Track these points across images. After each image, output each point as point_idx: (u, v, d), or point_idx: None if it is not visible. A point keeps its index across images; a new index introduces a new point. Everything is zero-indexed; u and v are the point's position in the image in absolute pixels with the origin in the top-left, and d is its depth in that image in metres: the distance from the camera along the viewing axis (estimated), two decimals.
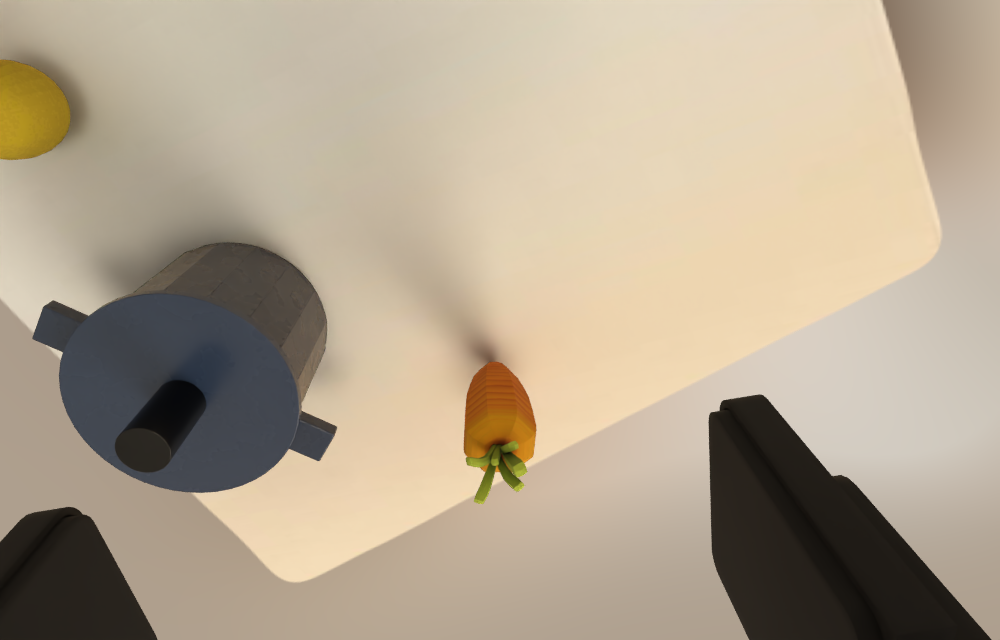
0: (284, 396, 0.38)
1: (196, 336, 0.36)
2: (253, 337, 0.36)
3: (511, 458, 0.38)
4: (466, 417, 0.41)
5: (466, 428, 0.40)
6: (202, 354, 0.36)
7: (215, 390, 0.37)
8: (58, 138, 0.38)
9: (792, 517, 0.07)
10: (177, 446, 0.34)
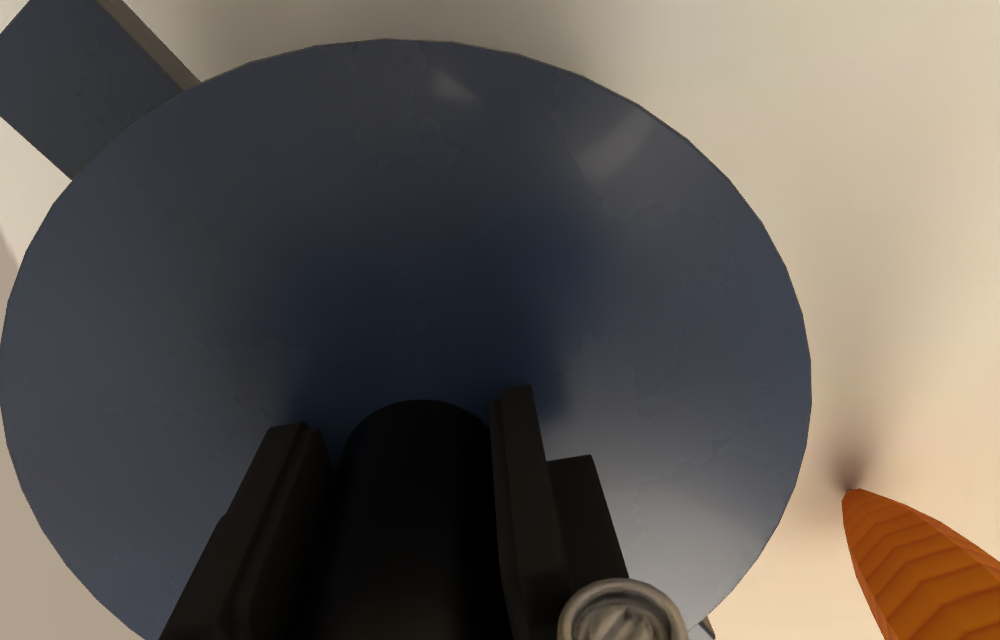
0: (726, 542, 0.12)
1: (605, 282, 0.10)
2: (775, 349, 0.10)
3: None
4: None
5: None
6: (582, 348, 0.10)
7: None
8: None
9: (500, 485, 0.08)
10: None
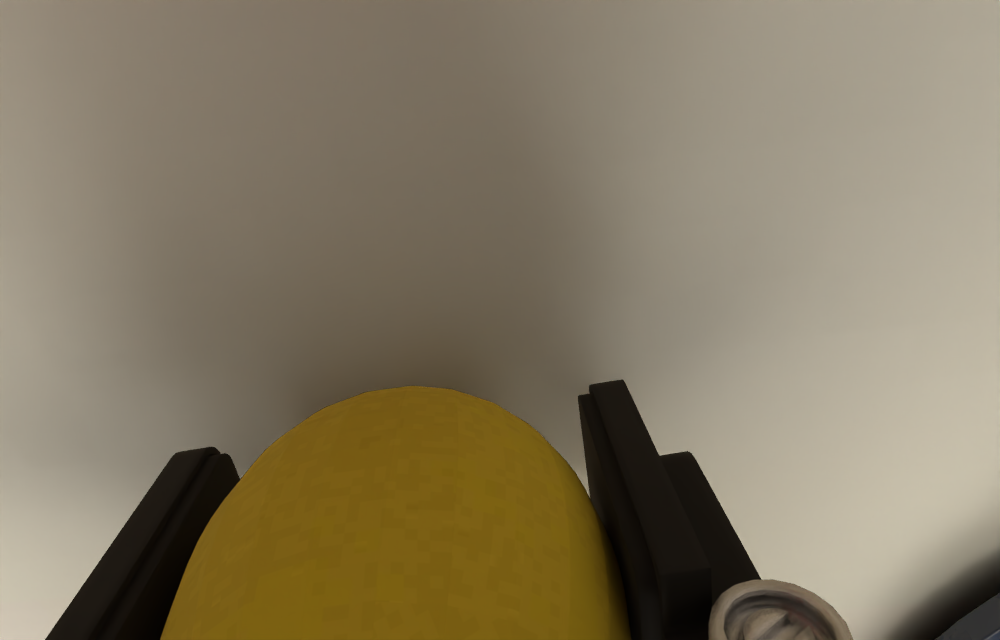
0: None
1: None
2: None
3: None
4: None
5: None
6: None
7: None
8: None
9: (614, 483, 0.08)
10: None
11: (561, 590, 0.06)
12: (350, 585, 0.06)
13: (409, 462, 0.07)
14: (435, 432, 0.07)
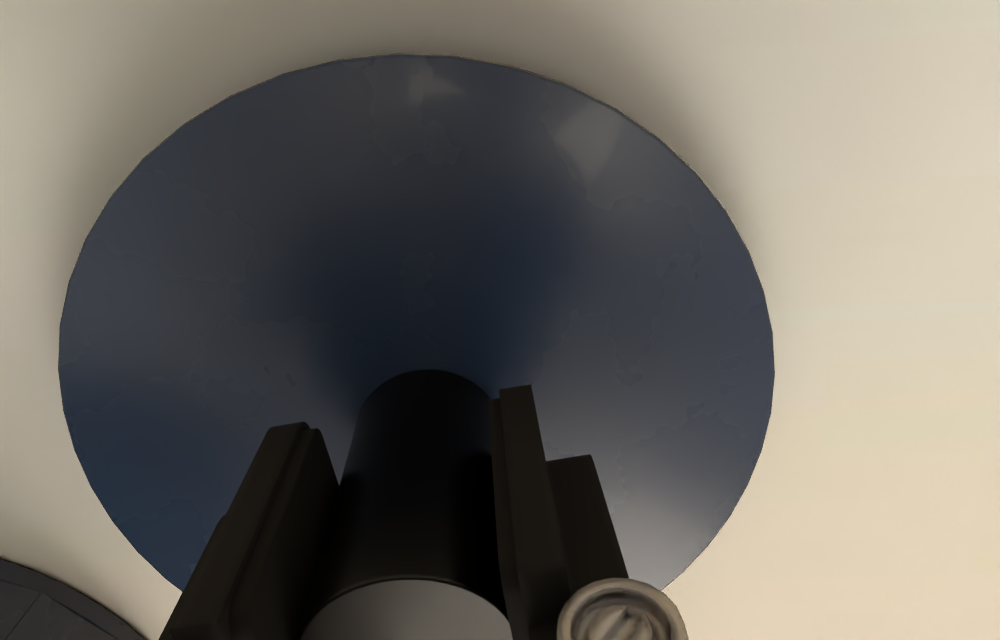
0: (702, 500, 0.13)
1: (590, 264, 0.11)
2: (741, 324, 0.12)
3: None
4: None
5: None
6: (571, 323, 0.12)
7: None
8: None
9: (500, 485, 0.08)
10: None
11: None
12: None
13: None
14: None
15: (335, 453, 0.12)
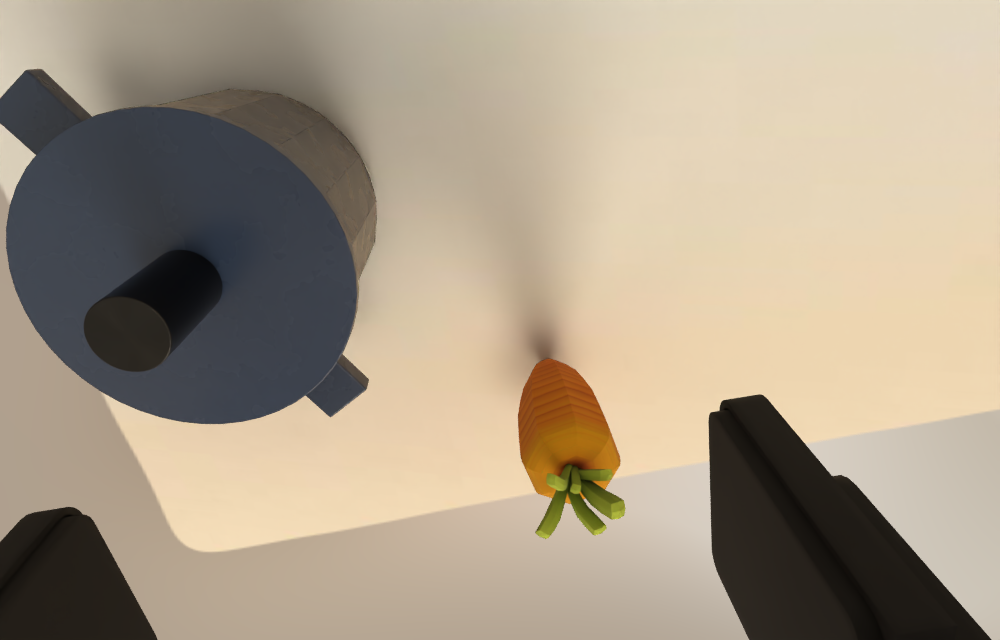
0: (333, 323, 0.27)
1: (247, 199, 0.24)
2: (327, 228, 0.25)
3: (598, 490, 0.29)
4: (538, 419, 0.31)
5: (539, 433, 0.30)
6: (244, 227, 0.25)
7: (241, 284, 0.26)
8: None
9: (792, 517, 0.07)
10: (177, 344, 0.22)
11: None
12: None
13: None
14: None
15: None
